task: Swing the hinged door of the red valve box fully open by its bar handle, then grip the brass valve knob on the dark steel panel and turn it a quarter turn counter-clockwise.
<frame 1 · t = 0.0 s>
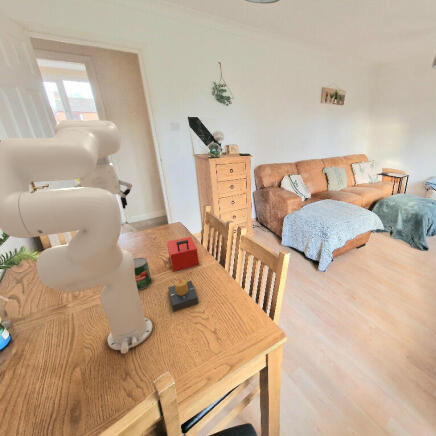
hand: (108, 209, 84), 37 cm above the table, tool pointing down, fingers open, 9 cm apart
valve box: (184, 261, 121), on the table
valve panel: (183, 297, 97), on the table
canned tomato: (141, 284, 104), on the table
valve knob: (181, 287, 95), point 5 cm above the table, hinge at 0.0°
valve door: (181, 241, 116), point 12 cm above the table, hinge at 0.0°
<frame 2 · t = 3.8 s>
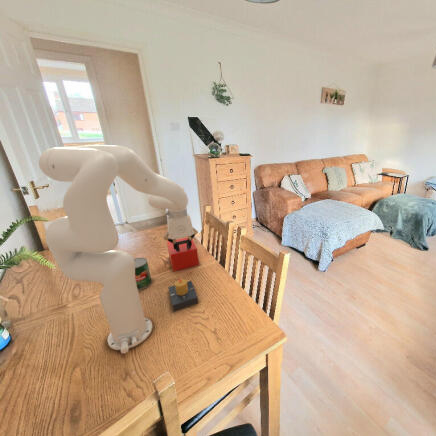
hand: (183, 248, 113), 10 cm above the table, tool pointing down, fingers closed on valve door, 5 cm apart
valve door: (181, 241, 116), point 12 cm above the table, hinge at 0.0°, touching gripper
everything else where it was.
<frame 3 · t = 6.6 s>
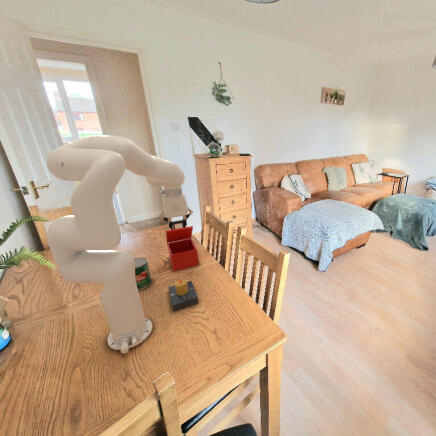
hand: (178, 227, 115), 18 cm above the table, tool pointing down, fingers closed on valve door, 5 cm apart
valve door: (178, 230, 117), point 16 cm above the table, hinge at 45.8°, touching gripper
everything else where it was.
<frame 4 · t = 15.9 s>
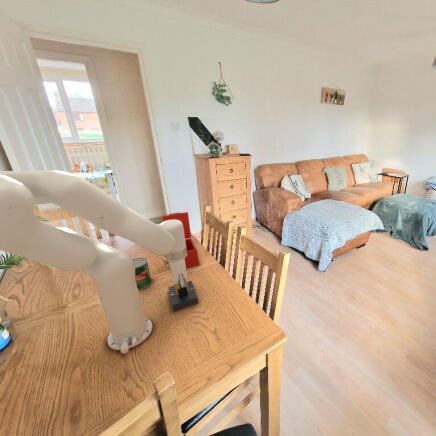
hand: (182, 291, 96), 3 cm above the table, tool pointing down, fingers closed on valve knob, 4 cm apart
valve knob: (181, 287, 95), point 5 cm above the table, hinge at 0.0°, touching gripper
valve door: (176, 225, 122), point 16 cm above the table, hinge at 88.9°
everything else where it was.
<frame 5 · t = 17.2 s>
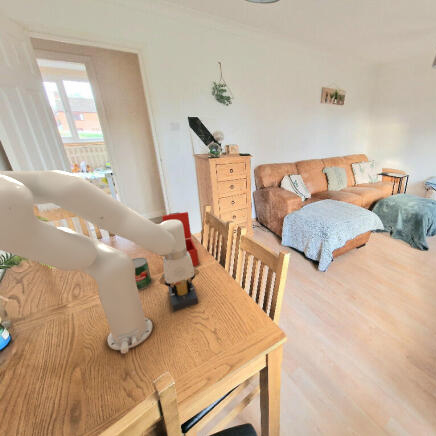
hand: (182, 291, 96), 3 cm above the table, tool pointing down, fingers closed on valve knob, 4 cm apart
valve knob: (181, 287, 95), point 5 cm above the table, hinge at 90.3°, touching gripper
everything else where it was.
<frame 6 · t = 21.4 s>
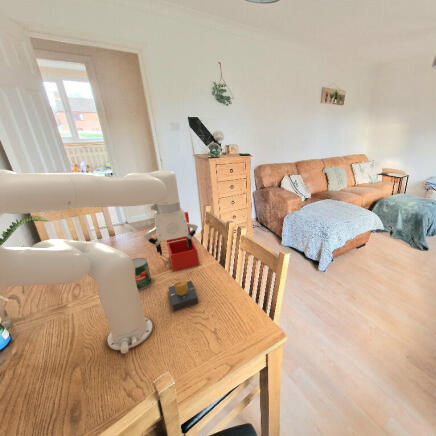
hand: (175, 250, 88), 22 cm above the table, tool pointing down, fingers open, 9 cm apart
valve knob: (181, 287, 95), point 5 cm above the table, hinge at 90.4°
everything else where it was.
at the end: valve door at +89° (first picture: +0°); valve knob at +90° (first picture: +0°) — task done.
